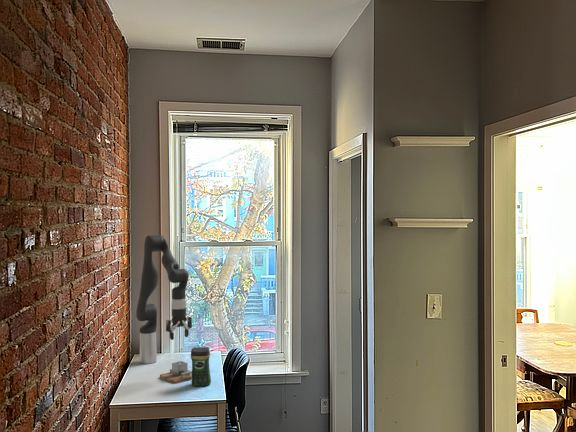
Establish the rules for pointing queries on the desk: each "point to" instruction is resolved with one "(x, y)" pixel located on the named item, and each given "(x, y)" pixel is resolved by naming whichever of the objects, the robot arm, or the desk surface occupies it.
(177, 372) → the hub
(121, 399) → the desk surface
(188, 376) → the stand
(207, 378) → the coffee jar
